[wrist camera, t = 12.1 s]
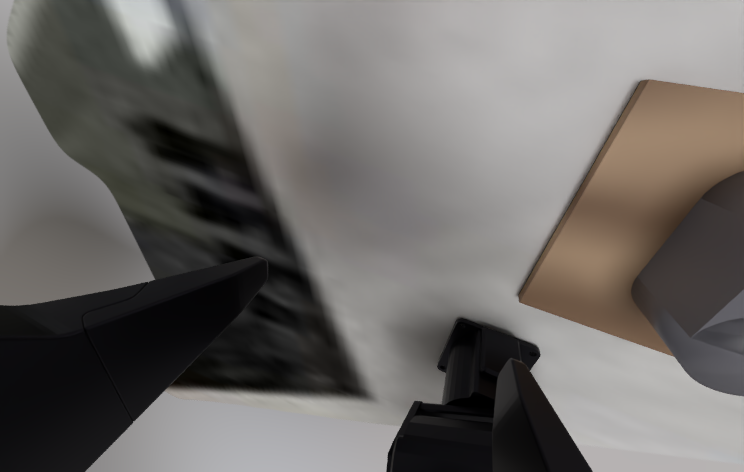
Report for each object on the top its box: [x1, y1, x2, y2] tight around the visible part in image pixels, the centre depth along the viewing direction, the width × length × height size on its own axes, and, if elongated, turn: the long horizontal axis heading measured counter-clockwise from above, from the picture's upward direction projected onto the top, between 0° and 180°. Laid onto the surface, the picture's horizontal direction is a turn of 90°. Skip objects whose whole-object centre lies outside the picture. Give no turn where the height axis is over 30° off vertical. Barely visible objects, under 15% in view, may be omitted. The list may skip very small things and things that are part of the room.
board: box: [518, 80, 744, 357], centre depth 15 cm, size 14×14×1 cm
